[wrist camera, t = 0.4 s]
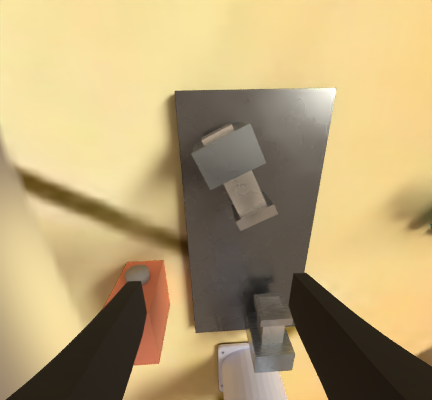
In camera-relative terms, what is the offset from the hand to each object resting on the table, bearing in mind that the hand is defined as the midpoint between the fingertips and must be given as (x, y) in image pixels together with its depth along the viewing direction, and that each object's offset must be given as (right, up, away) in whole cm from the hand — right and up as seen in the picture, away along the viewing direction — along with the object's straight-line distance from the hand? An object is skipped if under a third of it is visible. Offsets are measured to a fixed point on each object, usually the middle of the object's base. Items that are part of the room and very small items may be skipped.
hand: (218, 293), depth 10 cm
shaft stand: (+3, +1, +10) cm, 11 cm away
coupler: (-7, -4, +12) cm, 15 cm away
